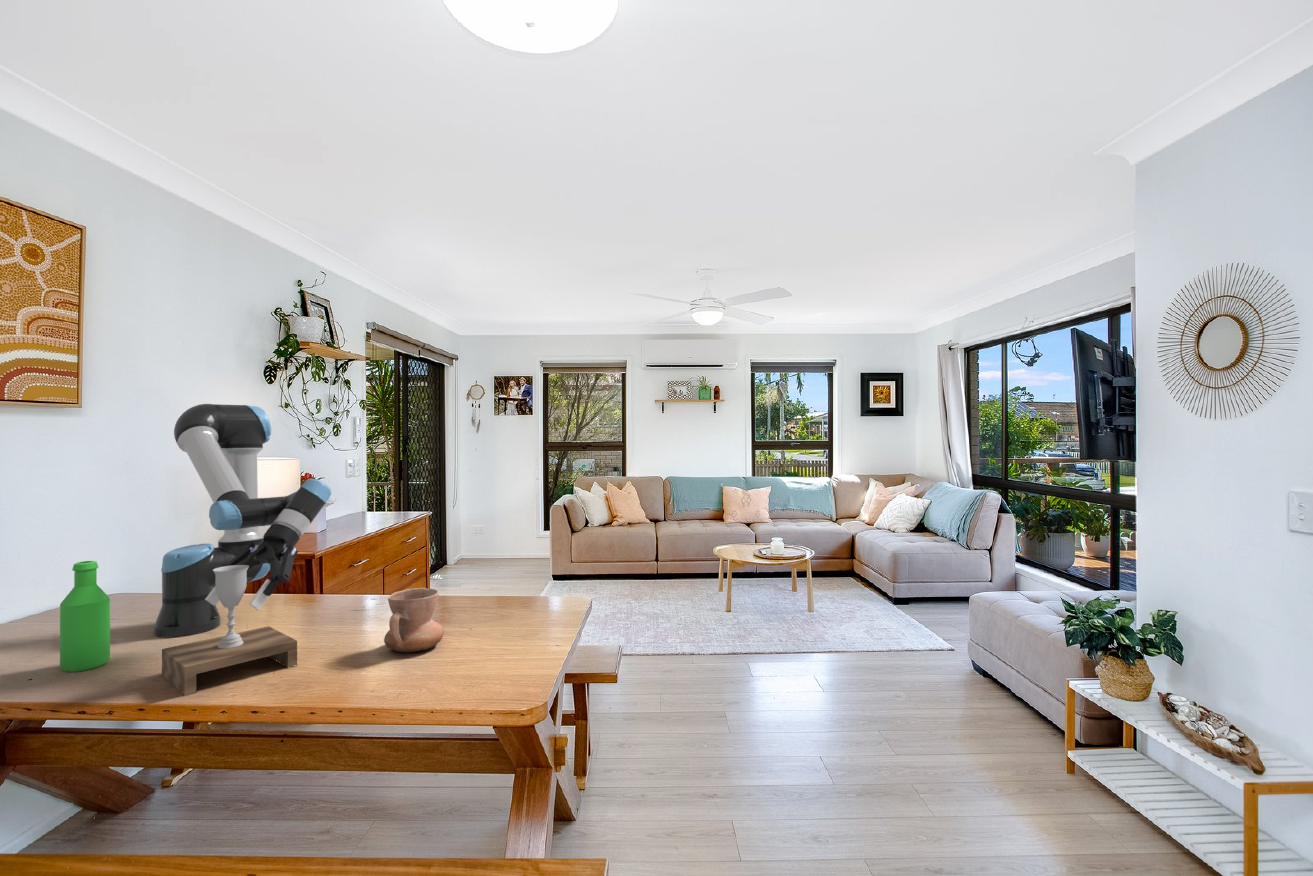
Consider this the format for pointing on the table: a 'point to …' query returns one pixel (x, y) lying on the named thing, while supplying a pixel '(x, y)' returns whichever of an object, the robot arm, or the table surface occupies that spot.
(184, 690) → the walnut shelf
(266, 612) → the table surface
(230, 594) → the chalice
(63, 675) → the table surface
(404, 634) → the ceramic jug
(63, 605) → the bottle
